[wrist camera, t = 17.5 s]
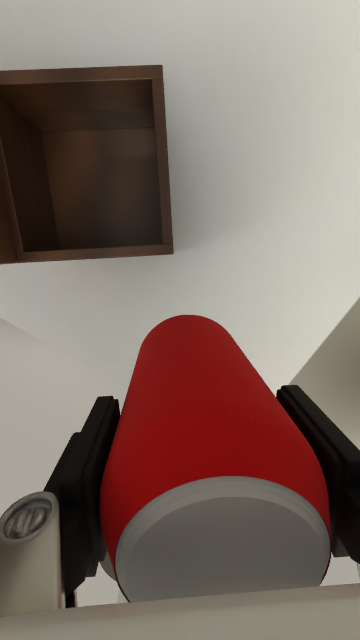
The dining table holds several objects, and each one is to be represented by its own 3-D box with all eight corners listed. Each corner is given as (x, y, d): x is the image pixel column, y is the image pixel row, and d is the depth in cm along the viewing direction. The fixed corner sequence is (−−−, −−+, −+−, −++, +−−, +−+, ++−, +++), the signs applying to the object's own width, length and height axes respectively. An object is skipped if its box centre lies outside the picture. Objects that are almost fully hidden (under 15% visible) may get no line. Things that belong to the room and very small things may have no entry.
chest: (164, 121, 28) (162, 64, 20) (172, 253, 32) (173, 254, 23) (34, 126, 28) (-26, 71, 19) (57, 259, 31) (15, 263, 23)
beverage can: (182, 290, 16) (217, 393, 4) (253, 351, 17) (426, 556, 6) (120, 361, 17) (18, 596, 5) (192, 414, 18) (232, 697, 7)
